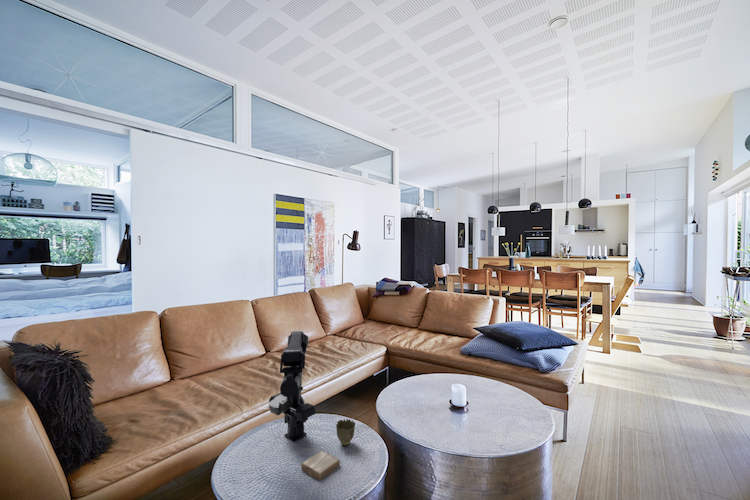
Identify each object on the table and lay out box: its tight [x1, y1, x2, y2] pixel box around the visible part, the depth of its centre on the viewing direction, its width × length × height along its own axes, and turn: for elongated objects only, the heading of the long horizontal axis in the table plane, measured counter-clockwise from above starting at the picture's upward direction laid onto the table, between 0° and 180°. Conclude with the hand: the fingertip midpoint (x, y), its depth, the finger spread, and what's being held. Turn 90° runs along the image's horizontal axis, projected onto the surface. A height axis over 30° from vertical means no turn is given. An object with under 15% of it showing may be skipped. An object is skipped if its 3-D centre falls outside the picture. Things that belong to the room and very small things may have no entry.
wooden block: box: [300, 450, 341, 481], centre depth 114 cm, size 3×10×9 cm
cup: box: [335, 418, 356, 447], centre depth 128 cm, size 8×7×8 cm
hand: (291, 429), depth 116 cm, fingers closed
